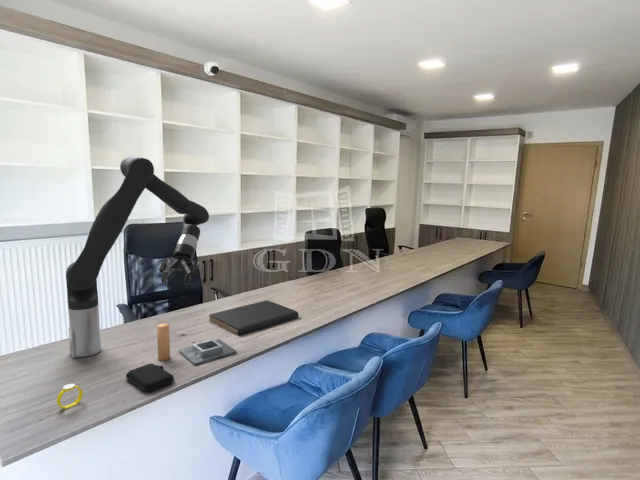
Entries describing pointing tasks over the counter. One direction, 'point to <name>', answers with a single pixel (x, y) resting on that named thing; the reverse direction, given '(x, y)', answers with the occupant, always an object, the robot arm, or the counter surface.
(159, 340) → the post
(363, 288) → the counter surface
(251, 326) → the black book
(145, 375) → the carrying case or bag
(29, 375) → the counter surface
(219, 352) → the mounting plate
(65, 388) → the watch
